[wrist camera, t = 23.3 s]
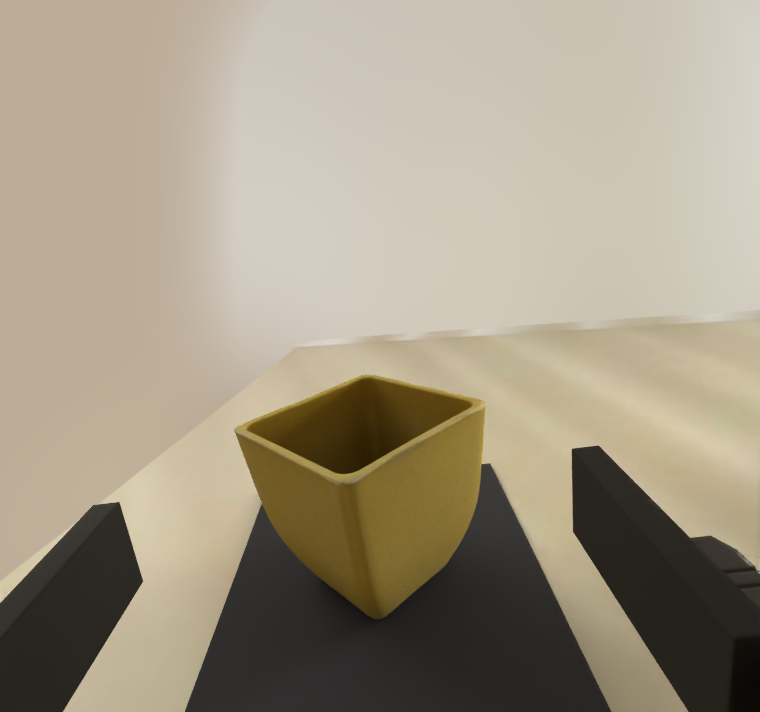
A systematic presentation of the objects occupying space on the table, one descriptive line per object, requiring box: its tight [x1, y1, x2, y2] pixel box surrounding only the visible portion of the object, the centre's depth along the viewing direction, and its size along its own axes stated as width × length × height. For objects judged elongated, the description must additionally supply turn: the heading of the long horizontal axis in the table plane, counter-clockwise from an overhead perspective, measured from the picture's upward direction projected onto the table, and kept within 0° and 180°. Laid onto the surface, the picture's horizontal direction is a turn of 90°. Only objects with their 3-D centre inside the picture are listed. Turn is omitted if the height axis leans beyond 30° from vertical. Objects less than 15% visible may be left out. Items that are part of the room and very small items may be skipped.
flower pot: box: [234, 375, 486, 619], centre depth 25 cm, size 9×9×9 cm
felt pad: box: [185, 464, 611, 712], centre depth 26 cm, size 20×16×1 cm
